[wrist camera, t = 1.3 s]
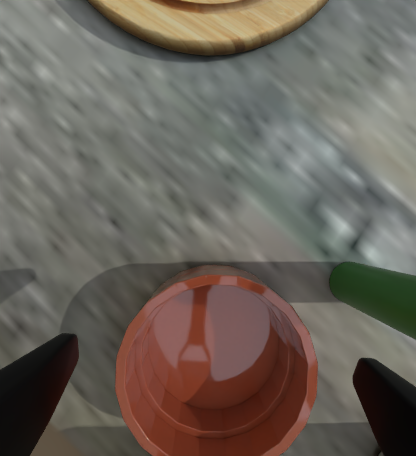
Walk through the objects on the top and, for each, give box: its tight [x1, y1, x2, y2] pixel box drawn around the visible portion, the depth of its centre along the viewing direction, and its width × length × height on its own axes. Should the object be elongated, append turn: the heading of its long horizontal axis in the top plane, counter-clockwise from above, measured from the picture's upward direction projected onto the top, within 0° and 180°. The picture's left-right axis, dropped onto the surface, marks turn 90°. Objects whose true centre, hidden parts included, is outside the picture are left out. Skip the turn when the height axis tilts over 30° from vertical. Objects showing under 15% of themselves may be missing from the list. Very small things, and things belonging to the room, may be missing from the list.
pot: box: [115, 265, 318, 456], centre depth 20 cm, size 16×16×6 cm
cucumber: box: [329, 262, 416, 340], centre depth 17 cm, size 4×4×13 cm
